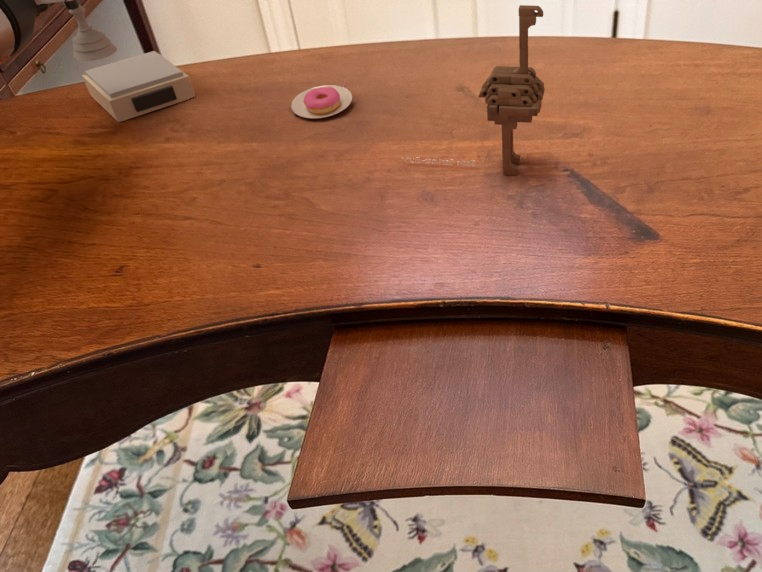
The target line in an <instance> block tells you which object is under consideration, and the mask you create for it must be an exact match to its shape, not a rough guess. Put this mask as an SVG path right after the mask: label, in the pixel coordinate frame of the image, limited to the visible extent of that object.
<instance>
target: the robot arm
mask: <svg viewBox="0 0 762 572" xmlns="http://www.w3.org/2000/svg"><path fill="white" fill-rule="evenodd" d="M81 1H82V0H0V66H1V65H2V64H4V63H5V61H7V60H8V59H9V58H10V57H12V56H14V55H15V54H16V53H17V52H18V51H20V50H21V49H22V48H23V47H24V46H25V45H26V44H28V43H29V41H30V40H31V39H32V37H33V34H34V32H35V23H36V22H35V21H36V18H38V17H39V16H40V15H41V13H45V12H47V11H48V10H49V9H50V7H52V6H54V5H55V4H56V3H57V4H58V3H60V5H61V6H62V7H65V8H66V10H68V11H69V10H74V9H76V8H78V7H79V5H81Z"/></svg>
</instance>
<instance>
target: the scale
mask: <svg viewBox="0 0 762 572" xmlns="http://www.w3.org/2000/svg"><path fill="white" fill-rule="evenodd" d="M81 77H82V80H83V82H84V84H85V86H86V89H87V91H88V93H89V95H90V97H91V98H92V99H93V100H94V101H95V102H97V103H98V104H99V105H100V106H101V107H102V109H104V110H105V111H106V112H107V114H109V115H110V116H111V117H112V118H113V119H114V120H115V121H116V122H117V123H121V122H124V121H127V120H131V119H133V118H136V117H139V116H142V115H145V114H148V113H151V112H155V111H157V110H161V109H164V108H167V107H170V106H172V105H175V104H179V103H182V102H185V101H188V100H191V99H193V97H194V98H196V93H195V90H194V87H193V83H192V81H191V79H190V76H189V75H188V74H187V73H185V71H183V70H181V69H180V68H179V67H178V66H177V65H175V64H173V63H172V62H170V60H168V59H166V58H165V57H164V56H162V55H161V54H160V53H159V52H157V51H155V50H152V51H148V52H145V53H141V54H138V55H135V56H131V57H128V58H125V59H121V60H118V61H114V62H110V63H108V64H103V65H101V66H98V67H97V66H96V67H94V68H90V69H86V70H84V74H82V75H81ZM190 98H191V99H190Z"/></svg>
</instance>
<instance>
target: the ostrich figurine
mask: <svg viewBox="0 0 762 572" xmlns="http://www.w3.org/2000/svg"><path fill="white" fill-rule="evenodd" d="M537 18H544V10H543V9H542V7H541V6H539V5H529V4H527V5H525V4H523V5H522V4H520V5H519V6H518V38H519V39H518V41H519V43H518V46H519V47H518V48H519V66H501V65H498V66H497V65H496V66H495V67H493V69H492V71H491V73H490V75H489V76H488V78H486V79H485V81H484V82H483V83H482V86H481V89H480V91H479V93H478V98H485V99H484V102H485V104H486V105H487V106H486V116H487V121H488V122H493V123H494V124H493V125H498V126H501V148H502V149H501V150H502V154H501V155H502V175H503V176H518V173H519V170H518V169H519V168H518V167H519V166H518V165H520V164H521V154H517V153H516V152H515V150H514V130H517V128H518V123H527V124H531V123H532V122H533V117H538V115H539V114H540V113H541V110H542V102H543V100H544V95H545V91H546V90H545V81H542V79H540V78H539V77H538V76H537V72H536V70H535V69H534V68H533V67H531V66H529V28H531V27H532V26H536V24H537ZM401 159H402V160H403V163H405V164H406V163H411V164H414V163H416V164H421V163H422V162H425V164H426V165H431V164H432V165H435V164H436V165H439V166H440V165H441V163H442V165H443V166H449V165H450V166H454V165H455V164H454V159H453V158H450V159H449V160H448V159H445V160H444V159H441V158H438V157H436V159H432V158H430V157H429V158H428V157H427V158H425V159H422V160H421V157H420V156H416V157H415V158H414V157H413V158H412V157H410V156H409V155H408V156H407V157H401ZM417 159H418V161H417ZM475 162H476V159H475V160H474V159H471V160H469V161H465V160H463V158H462V159H461V160H457V161H456V166H457V167H473V168H474V167H477V165H476V163H475Z"/></svg>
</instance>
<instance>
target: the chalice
mask: <svg viewBox="0 0 762 572" xmlns="http://www.w3.org/2000/svg"><path fill="white" fill-rule="evenodd" d="M85 12H86V8H85V7H83V6H82V5H81V4H80V5H79V7H78V8H76V9H74V10H69V9H68V13H69V14H71V15H72V16H73V17H74V19H75V20H76V22H77V26H78V28H77V32H75V33H74V35H73V37H72V43H73V44H72V49H73V53H72V58H73V59H74V60H76V61H80V62H92V61H97V60H98V61H99V60H102V59H103V60H104V59H105V58H109V57H110V56H113V55H114V54H115V53H116V52H117V51H118V47H117V46H116V45H115V44H114V43H112V41H111V39H110V38H109V37H107V36H106V34H105V32H103V31H101V30H100V29H98V28H93V26H91V25H90V24H89V23H88V21H87V20H86V16H85Z"/></svg>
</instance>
